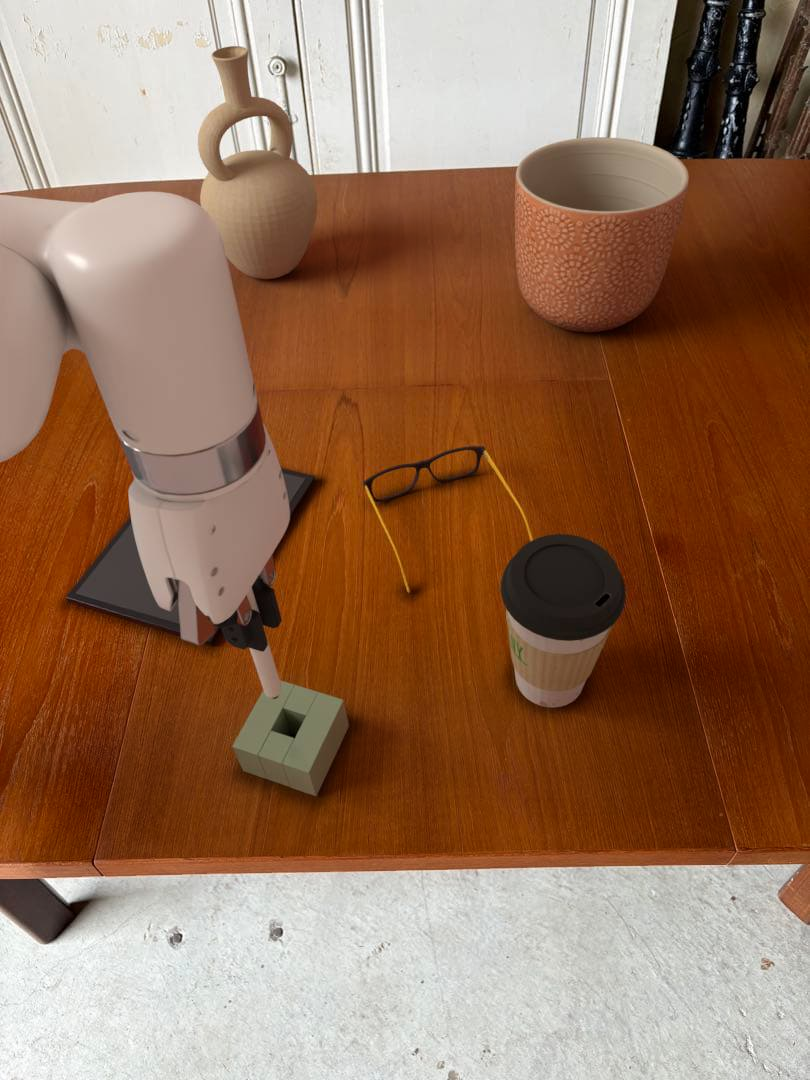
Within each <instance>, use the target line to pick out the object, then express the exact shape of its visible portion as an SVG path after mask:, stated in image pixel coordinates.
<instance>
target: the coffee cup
mask: <svg viewBox="0 0 810 1080" xmlns="http://www.w3.org/2000/svg"><path fill="white" fill-rule="evenodd" d="M499 590H500V596H501V600H502V603H503V605H504V607H505V616H506V625H507V633H508V640H509V648H510V657H511V661H512V662H511V663H512V665H513V669H514V678H515V682H516V686H517V688H518V690H519V691H520V693H521V694H522V695H523V697H525V698H526V699H527V700H528V701H530V702H532V703H533V704H535V705H537V706H540V707H545V708H553V709H554V708H560V707H564V706H567V705H569V704H571V703H573V702H574V701H576V699H577V698H578V697H579V696H580V695H581V693H582V690H583V689H584V686H585V683H587V682H586V681H587V680H588V678H589V677H590V676H591V674H592V672H593V670H594V668H595V666H596V663H597V661H598V659H599V657H600V654H601V652H602V650H603V648H604V645H605V644H606V641H607V639H608V637H609V635H610V633H611V630H612V627H613V626H614V625H615V623H616V622H617V621H618V619H620V617H621V615H622V613H623V612H624V610H625V606H626V600H627V594H626V584H625V581H624V577H623V574H622V573H621V570H620V569H619V568H618V564H617V562H616V561H615V560H614V558H613V556H612V555H611V554H610V553H609V552H608V551H607V550H606V549H605V548H604V547H602V546H600V545H599V544H598V543H596V542H594V541H592V540H590V539H588V538H585V537H582V536H578V535H573V534H564V533H563V534H562V533H556V534H547V535H544V536H543V535H542V536H540V537H537V538H534V539H533V540H532V541H530V540H529V542H527V543H526V544H524V545H523V546H522V547H521V548H520V549H519V550H518V551H517V552H516V553H515V555H513V557H511V559H509V561H508V563H507V565H506V567H505V568H504V570H503V573H502V577H501V580H500V589H499Z"/></svg>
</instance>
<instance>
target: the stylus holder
mask: <svg viewBox="0 0 810 1080" xmlns="http://www.w3.org/2000/svg"><path fill="white" fill-rule="evenodd" d="M279 680H280V683H281V686H282V691H281V693H280V694H279V697H278V698H276V699H272V698H271V697H268V696H266V695H265V693H264V690H263V689H262V692H261V693H260V695H259V697H258V699H257V700H256V703H255V705H253V707H252V710H251V712H250V713H249V715H248V717H247V719H246V720H245V722H244V724H243V725H242V728H241V729H240V731H239V733H238V735H237V737H236V738H235V740H234V742H233V744H232V746H231V747H232V750H233V751H234V754H235V756H236V759H237V760H238V763H239V765H240V767H241V769H242V772H245V773H247V774H251V775H253V776H257V777H259V778H263V779H265V780H268V781H271V782H273V783H277V784H280V785H283V786H285V787H287V788H291V789H294V790H296V791H299V792H302V793H305V794H307V795H311V796H314V797H317V796H318V794H319V792H320V790H321V787H322V785H323V783H324V781H325V778H326V777H327V774H328V772H329V770H330V769H331V766H332V764H333V761H334V759H335V757H336V755H337V753H338V750H339V749H340V746H341V744H342V742H343V740H344V738H345V736H346V734H347V731H348V729H349V727H350V724H349V719H348V714H347V709H346V704H345V701H344V699H342V698H340V697H336V696H333V695H330V694H326V693H323V692H319V691H315V690H313V689H310V688H306V687H303V686H300V685H297V684H294V683H290V682H287V681H284V680H281V679H279ZM291 734H292V735H295V737H293V736H291Z"/></svg>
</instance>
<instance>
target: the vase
mask: <svg viewBox="0 0 810 1080" xmlns="http://www.w3.org/2000/svg"><path fill="white" fill-rule="evenodd" d="M210 57H211V59H212V61H213V62H214V65H215V66H216V67H215V68H216V70H217V72H218V75H219V79H220V82H221V85H222V88H223V93H224V98H225V102H223V103H221V104H219V105H217V106H216V107H215V108H213V109H211V111H210V112H209V113H208V114H206V116H205V117H204V119H203V121H202V123H201V125H200V127H199V130H198V134H197V147H198V148H197V149H198V154H199V157H200V159H201V162H202V164H203V166H204V167H205V169H206V170H207V171H208V173H207V174H206V176H205V178H204V179H203V182H202V184H201V190H200V193H199V194H200V196H199V199H200V202H199V204H200V206H201V207H202V208H203V209H204V210H205V211H207V213H208V214H209V215H210V216H211V218H212V219H213V220H214V222H215V223H216V225H217V227H218V229H219V232H220V234H221V238H222V241H223V245H224V248H225V252H226V257H227V260H229V262H230V263H231V264H232V265H234V267H235V268H236V269H238V270H239V271H240V272H242V273H243V274H244V275H246V276H248V277H251V278H255V279H259V280H272V279H277V278H281V277H283V276H285V275H287V274H289V273H290V272H292V271H293V270H294V269H296V267H297V266H298V265H299V263H300V262H301V260H302V258H303V256H304V255H305V252H306V251H307V249H308V246H309V244H310V241H311V238H312V235H313V232H314V228H315V224H316V220H317V213H318V197H317V190H316V186H315V183H314V181H313V179H312V177H311V176H310V173H308V171H307V170H306V169H305V168H304V167H303V166H302V165H301V164H300V163H299V162H298V161H296V160H295V159H293V158H292V157H291V153H292V149H293V129H292V124H291V121H290V118H289V116H288V114H287V112H286V111H284V109H283V108H282V107H281V106H280V105H279V104H278V103H276V102H275V101H272V100H271V99H268V98H265V97H259V96H252V91H251V85H250V77H249V64H248V61H249V59H248V58H249V50H248V48H246V47H244V46H240V45H229V46H224V47H221V48H218V49H216V50H214V51H213V52H212V53H211V56H210ZM255 117H266V118H267V120H268V123H269V126H270V141H269V150H267V149H265V150H264V149H253V150H252V149H251V150H245V151H240V152H235V153H234V154H231V155H229V156H227V157H225V158H222V156H221V149H220V146H221V142H222V139H223V137H224V135H225V134H226V133H227V131H228V130H229V129H230V128H232V127H233V126H234V125H236V124H238V123H239V122H241V121H244V120H247V119H250V118H255Z"/></svg>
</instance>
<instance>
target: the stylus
mask: <svg viewBox="0 0 810 1080" xmlns="http://www.w3.org/2000/svg"><path fill="white" fill-rule="evenodd" d="M247 598H248V600H249V603H250V606H251V609H253V610H256V611H258V612H259V610H258V607H257V603H256V600H255V597H254V593H253V590H252V587H251V588H250V590H249V591H248V593H247ZM259 614H260V613H259ZM262 624H263V623H262ZM263 627H264V628H265V626H264V625H263ZM264 631H265V634H266V630H265V629H264ZM266 638H267V641H268V642H267V643H268V646H267V647H266V649H265V651H263V652H262V651H258V650H255V649H252V648H249V651H250V655H251V657H252V660H253V662H254V666H255V669H256V672H257V675H258V678H259V681H260V684H261V687H262V691H263V690H264V693H265V695H266V696H268V697H271V698H272V699H276V698H278V697H279V694H280V693H281V691H282V686H281V683H280V680H281V679H280V676H279V673H278V670H277V667H276V663H275V660H274V656H273V654H272V650H271V646H270V643H269V640H268V637H267V634H266Z"/></svg>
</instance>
